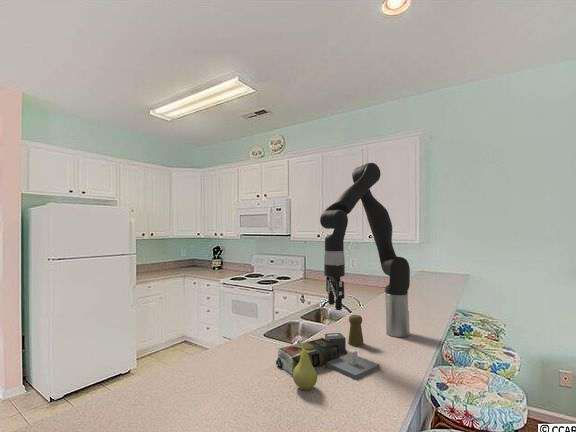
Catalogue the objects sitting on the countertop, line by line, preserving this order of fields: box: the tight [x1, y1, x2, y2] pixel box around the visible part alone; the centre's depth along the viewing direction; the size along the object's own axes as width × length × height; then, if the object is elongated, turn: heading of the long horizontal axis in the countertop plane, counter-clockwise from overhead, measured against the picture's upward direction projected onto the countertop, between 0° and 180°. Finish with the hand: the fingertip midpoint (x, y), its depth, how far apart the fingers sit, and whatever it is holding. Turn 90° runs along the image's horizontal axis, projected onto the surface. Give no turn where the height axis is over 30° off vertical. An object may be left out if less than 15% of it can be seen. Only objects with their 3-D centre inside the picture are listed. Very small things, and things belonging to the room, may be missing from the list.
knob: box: [324, 332, 347, 355], centre depth 113 cm, size 6×6×6 cm
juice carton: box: [275, 337, 340, 375], centre depth 103 cm, size 20×10×6 cm, turn 122°
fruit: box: [292, 340, 318, 391], centre depth 86 cm, size 7×8×12 cm
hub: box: [325, 348, 380, 380], centre depth 99 cm, size 12×12×5 cm
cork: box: [347, 314, 365, 348], centre depth 121 cm, size 6×6×11 cm
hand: (334, 307), depth 114 cm, fingers open, 8 cm apart
